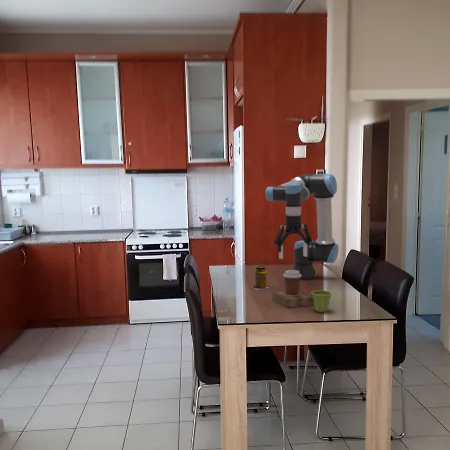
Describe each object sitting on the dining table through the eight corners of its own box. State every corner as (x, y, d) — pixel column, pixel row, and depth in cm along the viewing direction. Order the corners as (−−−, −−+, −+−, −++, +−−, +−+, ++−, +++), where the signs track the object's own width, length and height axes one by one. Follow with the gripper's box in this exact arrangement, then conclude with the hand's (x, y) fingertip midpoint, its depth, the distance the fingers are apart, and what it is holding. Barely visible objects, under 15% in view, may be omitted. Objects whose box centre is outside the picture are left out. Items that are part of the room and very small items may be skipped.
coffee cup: (287, 297, 225) (287, 273, 223) (280, 293, 233) (280, 270, 232) (304, 296, 227) (304, 272, 226) (296, 291, 236) (296, 268, 234)
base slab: (298, 297, 240) (298, 289, 240) (313, 304, 226) (313, 296, 226) (272, 300, 235) (272, 292, 235) (286, 308, 221) (286, 300, 221)
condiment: (269, 287, 261) (269, 267, 259) (257, 290, 256) (257, 269, 255) (261, 285, 267) (261, 265, 265) (249, 287, 262) (249, 266, 261)
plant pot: (308, 308, 221) (309, 290, 220) (327, 307, 222) (328, 289, 221) (314, 313, 212) (314, 295, 211) (334, 313, 213) (334, 294, 212)
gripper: (311, 213, 233) (311, 254, 236) (267, 215, 225) (267, 258, 228) (319, 214, 226) (319, 256, 229) (273, 217, 218) (274, 260, 221)
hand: (293, 257), depth 228 cm, fingers open, 13 cm apart
